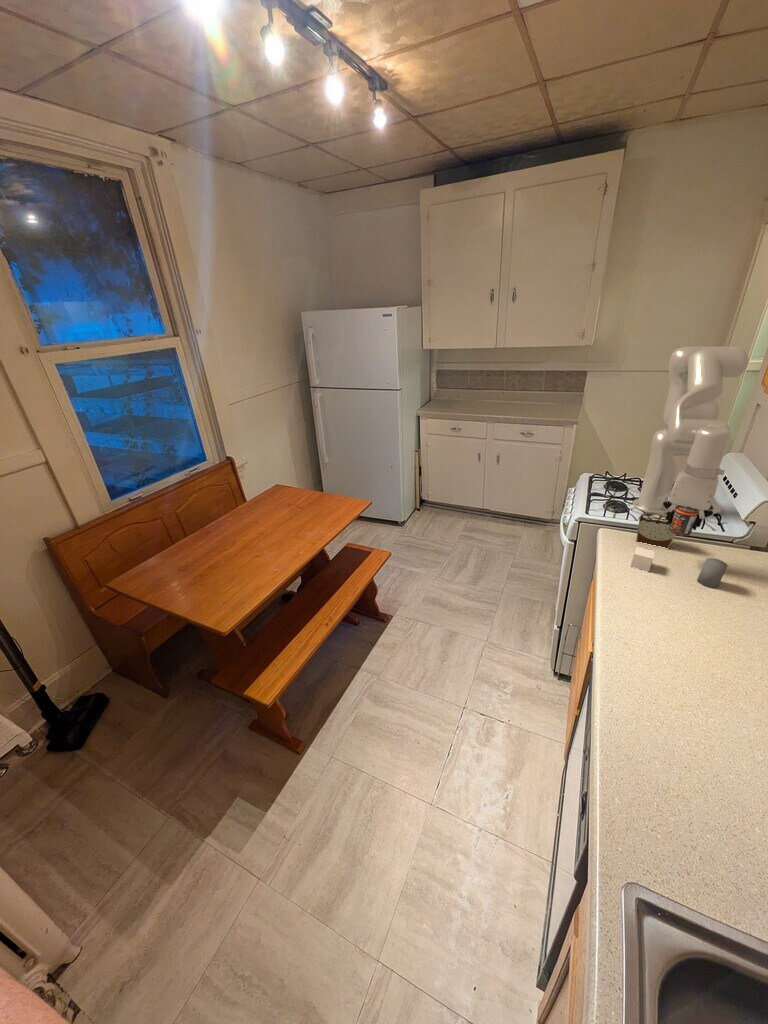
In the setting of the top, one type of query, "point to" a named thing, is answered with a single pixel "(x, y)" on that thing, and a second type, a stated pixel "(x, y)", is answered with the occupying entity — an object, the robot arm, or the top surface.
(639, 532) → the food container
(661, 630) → the top surface
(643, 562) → the off-white block
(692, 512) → the supplement bottle
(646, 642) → the top surface
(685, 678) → the top surface
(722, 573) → the gray cylinder
